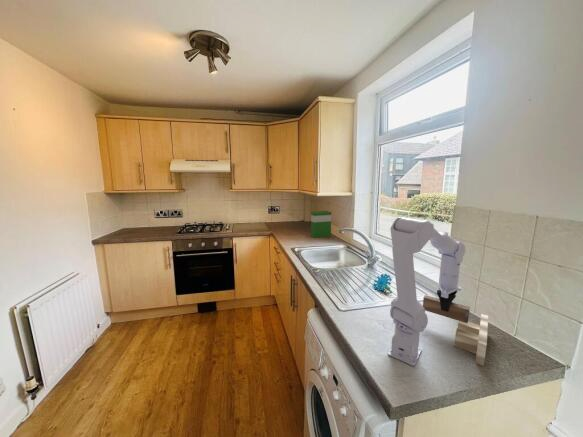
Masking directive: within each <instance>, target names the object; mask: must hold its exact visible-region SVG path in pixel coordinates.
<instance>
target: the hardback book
mask: <svg viewBox="0 0 583 437" xmlns="http://www.w3.org/2000/svg"><path fill="white" fill-rule="evenodd" d="M310 237H312V238H314V239H320V238H328V237H332V211H329V210H320V211H319V210H317V211H310Z"/></svg>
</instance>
